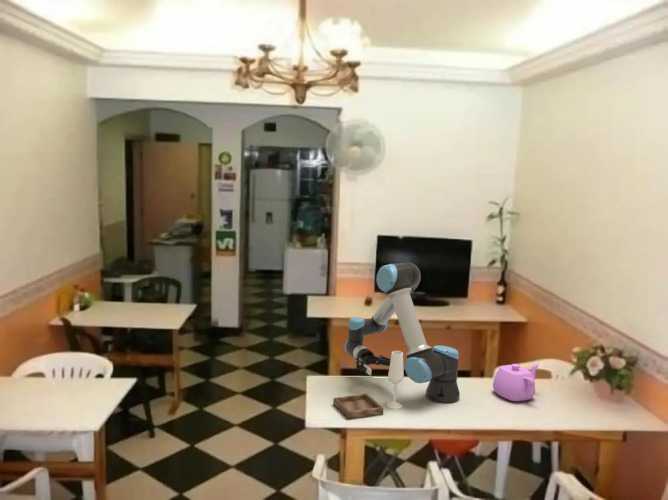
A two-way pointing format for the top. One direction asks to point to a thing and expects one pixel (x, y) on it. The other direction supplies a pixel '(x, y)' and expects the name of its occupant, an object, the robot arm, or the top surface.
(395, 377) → the champagne flute
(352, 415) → the walnut tray
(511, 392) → the teapot
